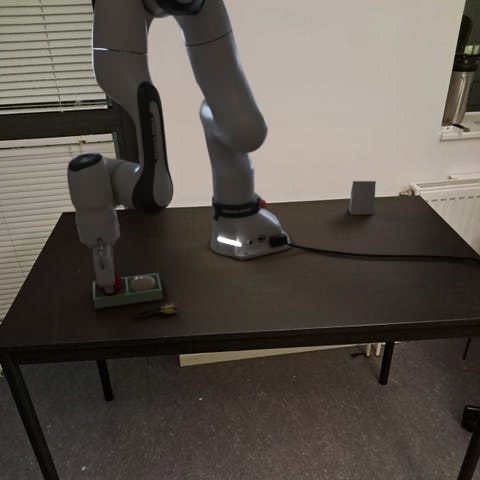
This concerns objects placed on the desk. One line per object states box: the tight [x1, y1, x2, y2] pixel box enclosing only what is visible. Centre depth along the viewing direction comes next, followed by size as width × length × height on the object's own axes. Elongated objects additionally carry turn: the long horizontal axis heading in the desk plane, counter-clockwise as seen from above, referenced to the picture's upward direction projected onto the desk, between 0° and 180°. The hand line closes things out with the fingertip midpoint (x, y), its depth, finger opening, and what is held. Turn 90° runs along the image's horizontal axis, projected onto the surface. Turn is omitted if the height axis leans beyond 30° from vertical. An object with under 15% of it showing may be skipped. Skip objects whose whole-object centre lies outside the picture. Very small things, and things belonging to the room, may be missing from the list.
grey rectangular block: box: [348, 180, 377, 216], centre depth 158 cm, size 4×7×10 cm, turn 87°
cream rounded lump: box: [131, 275, 156, 292], centre depth 123 cm, size 6×4×4 cm
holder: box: [92, 272, 164, 309], centre depth 123 cm, size 16×8×3 cm, turn 103°
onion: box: [97, 270, 122, 296], centre depth 121 cm, size 6×6×8 cm
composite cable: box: [134, 302, 179, 320], centre depth 117 cm, size 10×5×2 cm, turn 95°
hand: (109, 283), depth 121 cm, fingers closed on onion, 6 cm apart
